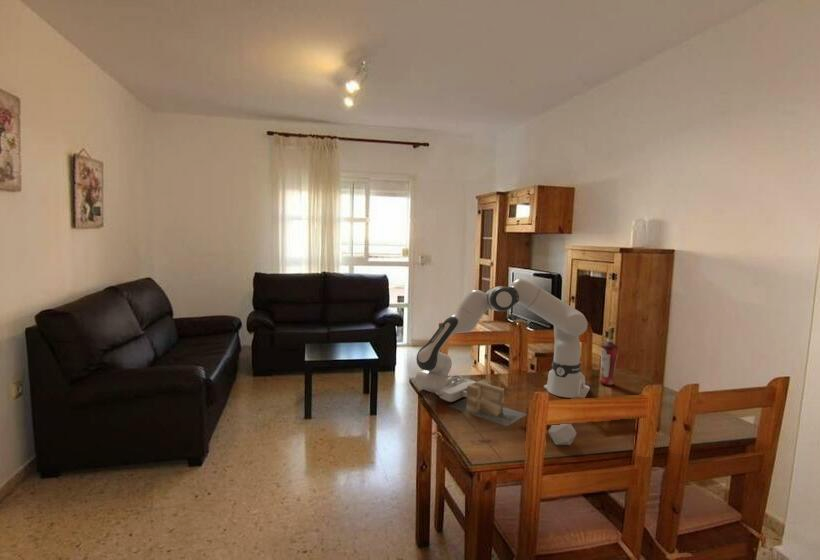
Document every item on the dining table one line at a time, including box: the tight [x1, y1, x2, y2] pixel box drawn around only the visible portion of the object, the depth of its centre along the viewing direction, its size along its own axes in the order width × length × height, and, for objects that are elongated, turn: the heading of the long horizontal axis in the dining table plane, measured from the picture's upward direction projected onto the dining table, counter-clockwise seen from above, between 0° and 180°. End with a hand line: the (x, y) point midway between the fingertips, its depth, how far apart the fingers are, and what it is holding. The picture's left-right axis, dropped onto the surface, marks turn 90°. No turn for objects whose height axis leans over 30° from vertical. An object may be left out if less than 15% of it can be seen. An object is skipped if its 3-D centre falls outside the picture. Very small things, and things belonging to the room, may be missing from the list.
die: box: [547, 423, 577, 446], centre depth 161 cm, size 8×9×10 cm
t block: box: [466, 378, 505, 416], centre depth 187 cm, size 12×12×10 cm
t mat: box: [448, 397, 528, 427], centre depth 187 cm, size 16×27×1 cm, turn 49°
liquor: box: [598, 326, 619, 386], centre depth 224 cm, size 7×7×28 cm
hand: (475, 395), depth 191 cm, fingers closed
